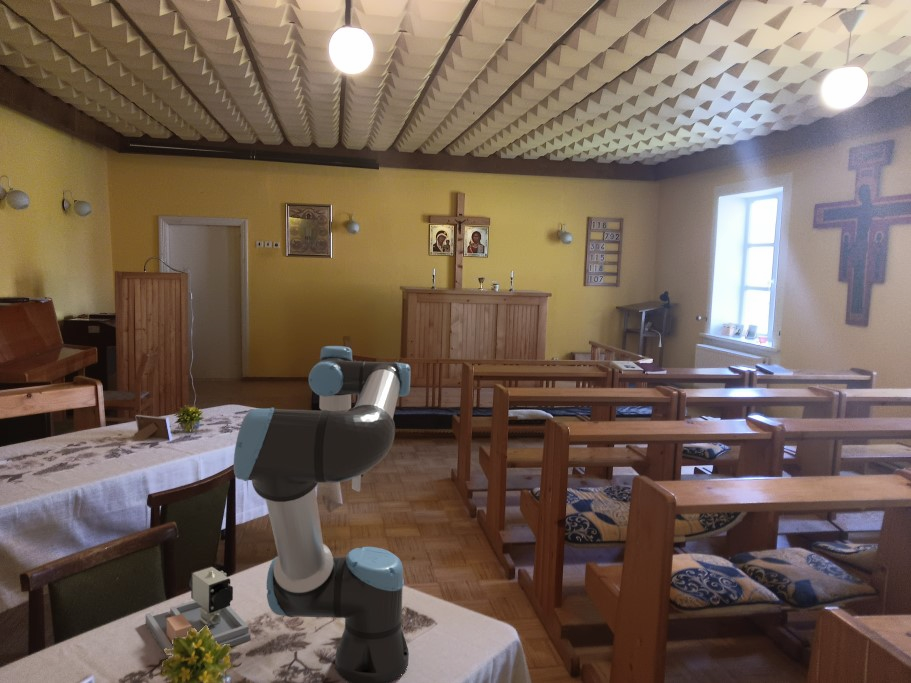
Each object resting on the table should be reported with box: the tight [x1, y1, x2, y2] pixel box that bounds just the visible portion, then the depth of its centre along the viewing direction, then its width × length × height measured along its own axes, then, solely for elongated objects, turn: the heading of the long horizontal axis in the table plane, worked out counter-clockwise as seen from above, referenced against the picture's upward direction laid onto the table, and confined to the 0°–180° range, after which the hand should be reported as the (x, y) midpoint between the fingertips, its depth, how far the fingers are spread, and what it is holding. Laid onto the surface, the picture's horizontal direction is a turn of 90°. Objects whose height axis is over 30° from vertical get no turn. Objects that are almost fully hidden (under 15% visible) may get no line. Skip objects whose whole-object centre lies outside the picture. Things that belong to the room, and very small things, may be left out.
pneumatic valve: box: [188, 565, 234, 627], centre depth 141 cm, size 6×12×12 cm, turn 48°
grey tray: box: [145, 600, 251, 658], centre depth 139 cm, size 20×16×4 cm
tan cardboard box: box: [167, 614, 192, 646], centre depth 133 cm, size 6×3×4 cm, turn 41°
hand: (332, 495), depth 153 cm, fingers open, 13 cm apart
